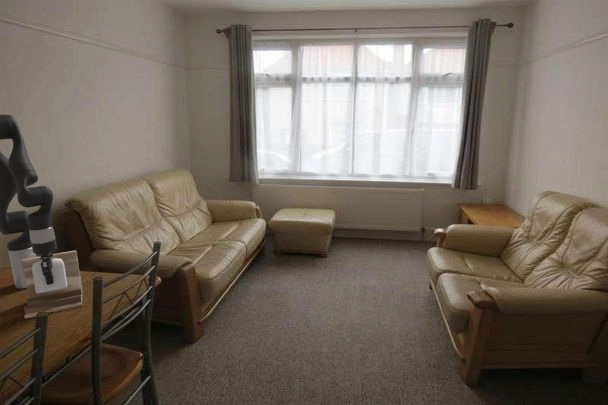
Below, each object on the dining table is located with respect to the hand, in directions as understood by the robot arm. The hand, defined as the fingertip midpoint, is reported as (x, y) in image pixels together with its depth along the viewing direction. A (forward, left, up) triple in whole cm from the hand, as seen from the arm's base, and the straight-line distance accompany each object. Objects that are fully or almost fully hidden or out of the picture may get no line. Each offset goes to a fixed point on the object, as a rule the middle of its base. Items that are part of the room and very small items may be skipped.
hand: (50, 281), depth 141 cm
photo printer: (0, 0, -3) cm, 3 cm away
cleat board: (-2, 0, -10) cm, 10 cm away
